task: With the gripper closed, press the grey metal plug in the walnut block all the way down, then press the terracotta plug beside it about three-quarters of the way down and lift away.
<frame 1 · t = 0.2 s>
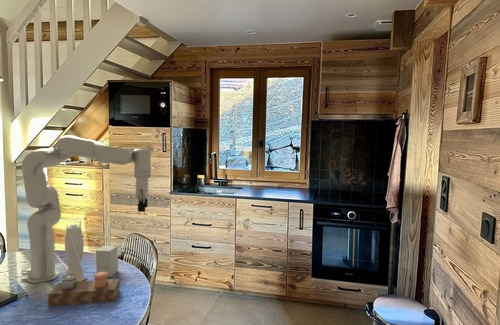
hand: (142, 209, 157), 31 cm above the table, tool pointing down, fingers open, 9 cm apart
terracotta plug: (101, 281, 133), point 6 cm above the table, slide at 0.0 cm
skyscraper: (75, 282, 148), on the table
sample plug: (69, 283, 131), point 6 cm above the table, slide at 0.0 cm
supplement box: (107, 274, 157), on the table
plug block: (85, 297, 133), on the table
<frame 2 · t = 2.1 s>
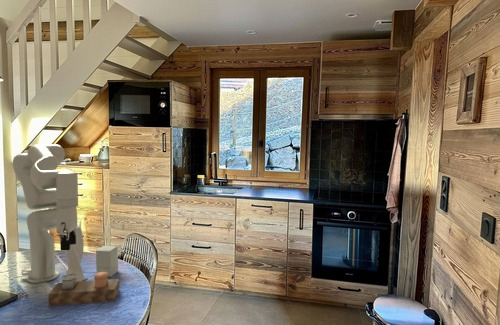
hand: (68, 246, 130), 22 cm above the table, tool pointing down, fingers open, 6 cm apart
nothing on the table moved.
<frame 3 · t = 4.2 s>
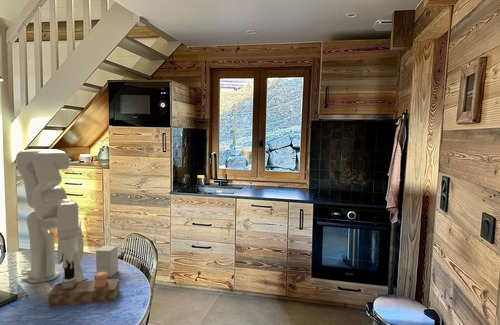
hand: (69, 277, 131), 9 cm above the table, tool pointing down, fingers closed
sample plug: (69, 285, 131), point 6 cm above the table, slide at 0.6 cm, touching gripper
everything else where it was.
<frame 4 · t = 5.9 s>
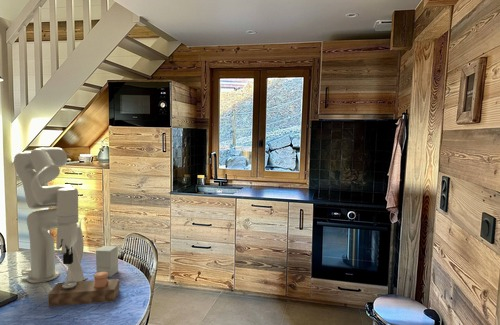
hand: (68, 263, 131), 15 cm above the table, tool pointing down, fingers closed
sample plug: (69, 291, 131), point 3 cm above the table, slide at 3.1 cm
everything else where it was.
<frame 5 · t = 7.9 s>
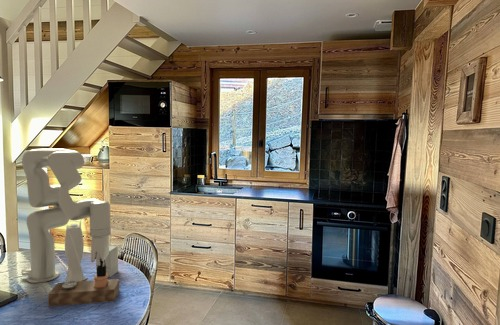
hand: (101, 275, 133), 9 cm above the table, tool pointing down, fingers closed
terracotta plug: (101, 282, 133), point 6 cm above the table, slide at 0.6 cm, touching gripper
everything else where it was.
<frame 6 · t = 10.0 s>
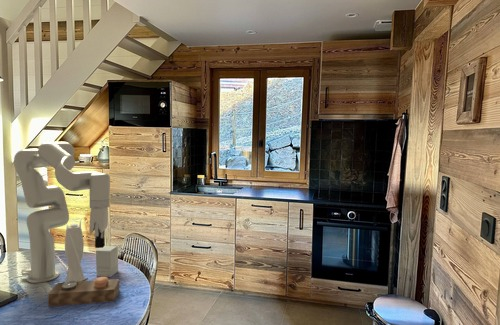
hand: (99, 247, 134), 20 cm above the table, tool pointing down, fingers closed
terracotta plug: (101, 286, 134), point 4 cm above the table, slide at 2.1 cm
everything else where it was.
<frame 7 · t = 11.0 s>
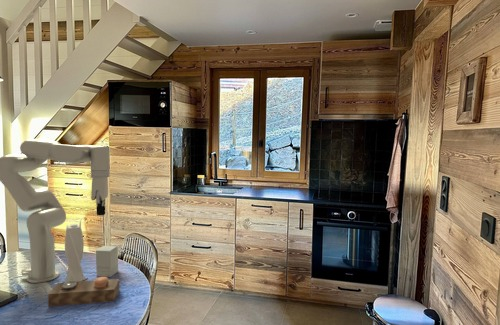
hand: (101, 214, 145), 31 cm above the table, tool pointing down, fingers closed
nothing on the table moved.
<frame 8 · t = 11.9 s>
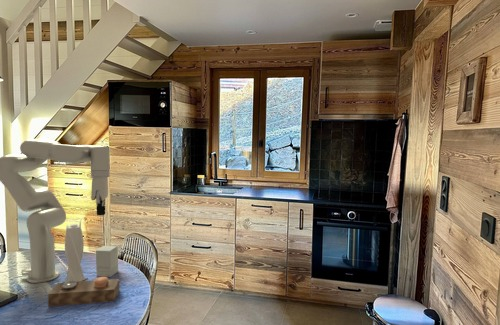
hand: (101, 214, 145), 31 cm above the table, tool pointing down, fingers closed
nothing on the table moved.
at the end: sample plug slide at 3.1 cm; terracotta plug slide at 2.1 cm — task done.
